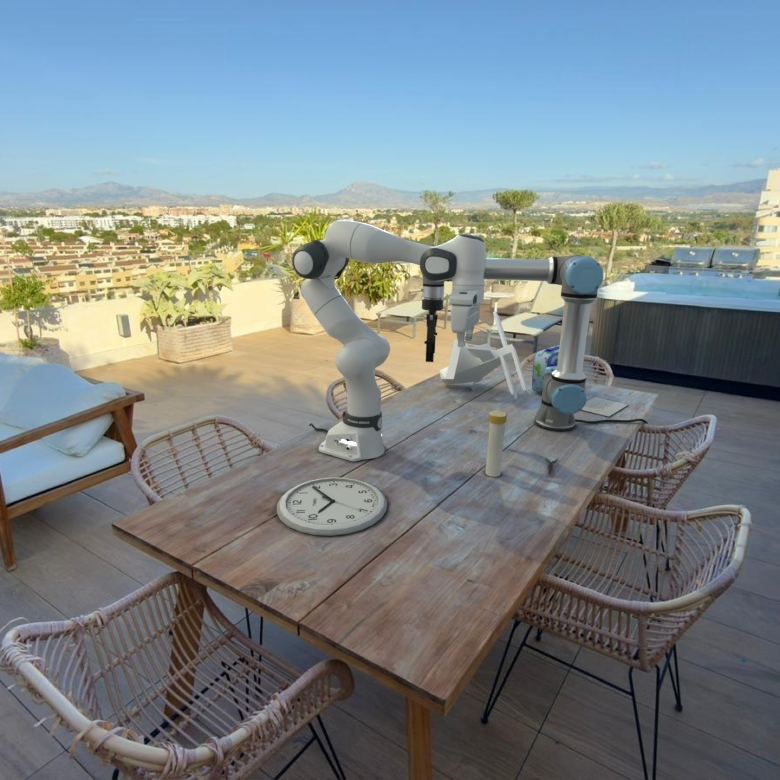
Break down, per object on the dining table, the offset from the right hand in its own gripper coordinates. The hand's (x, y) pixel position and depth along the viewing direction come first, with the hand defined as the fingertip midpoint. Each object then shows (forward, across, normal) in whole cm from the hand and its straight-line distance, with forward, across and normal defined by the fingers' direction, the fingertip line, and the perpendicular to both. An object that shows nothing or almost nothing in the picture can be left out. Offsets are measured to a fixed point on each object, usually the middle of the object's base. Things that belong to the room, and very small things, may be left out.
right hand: (430, 357), depth 190 cm
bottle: (+28, +34, +22) cm, 49 cm away
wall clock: (+28, +61, -23) cm, 71 cm away
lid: (+8, +34, +22) cm, 42 cm away
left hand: (-13, +36, +11) cm, 40 cm away
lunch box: (+28, -59, +56) cm, 86 cm away
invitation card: (+28, -38, +73) cm, 87 cm away
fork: (+28, +26, +41) cm, 56 cm away
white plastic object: (+28, -50, +22) cm, 61 cm away
